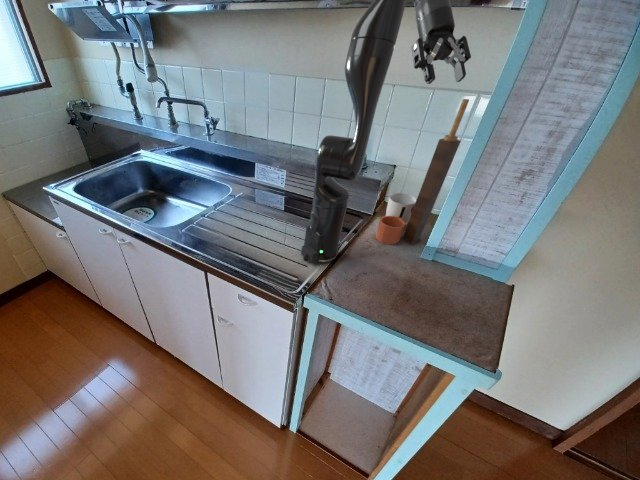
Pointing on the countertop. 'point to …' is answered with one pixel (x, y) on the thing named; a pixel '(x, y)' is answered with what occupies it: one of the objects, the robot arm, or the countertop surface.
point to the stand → (430, 189)
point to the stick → (457, 122)
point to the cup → (400, 205)
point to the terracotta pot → (390, 229)
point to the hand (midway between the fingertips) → (446, 80)
